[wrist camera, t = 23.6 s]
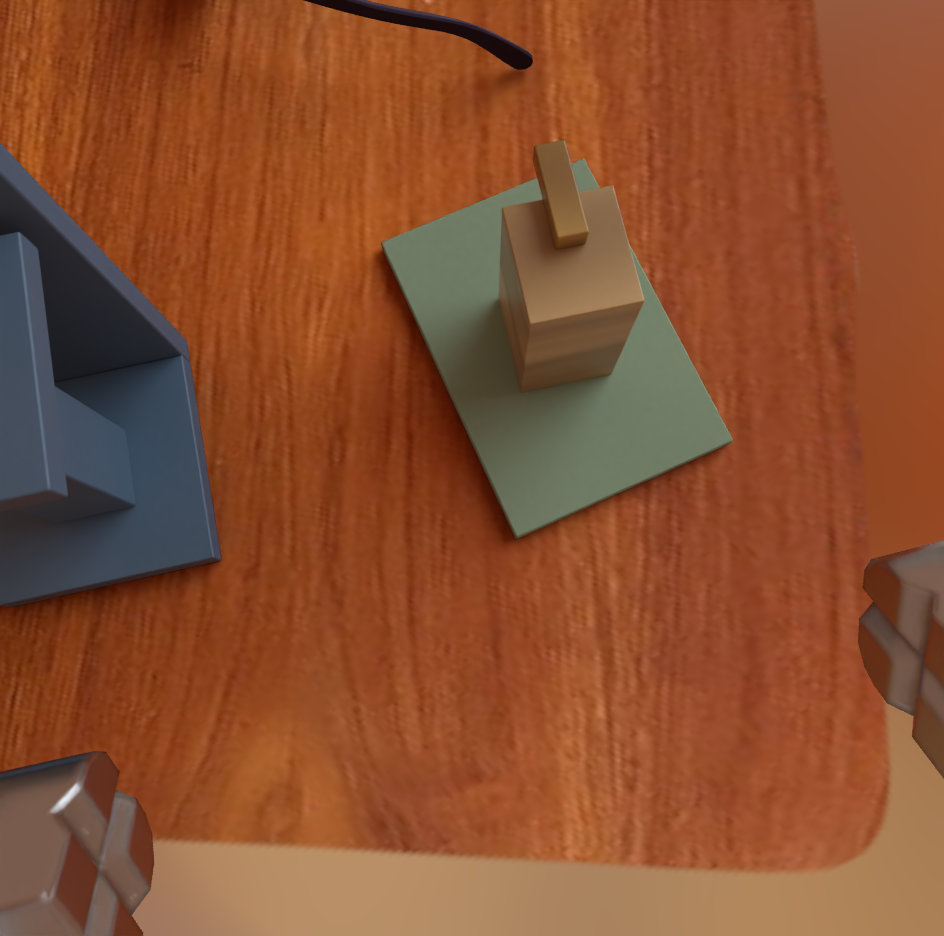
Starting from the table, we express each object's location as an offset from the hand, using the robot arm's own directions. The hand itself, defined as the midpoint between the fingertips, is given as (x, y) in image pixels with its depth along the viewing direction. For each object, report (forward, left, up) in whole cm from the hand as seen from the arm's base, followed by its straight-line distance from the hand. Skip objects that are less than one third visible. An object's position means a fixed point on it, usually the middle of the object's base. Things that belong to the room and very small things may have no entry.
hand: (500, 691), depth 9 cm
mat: (+10, -7, -23) cm, 26 cm away
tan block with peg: (+10, -7, -22) cm, 26 cm away
